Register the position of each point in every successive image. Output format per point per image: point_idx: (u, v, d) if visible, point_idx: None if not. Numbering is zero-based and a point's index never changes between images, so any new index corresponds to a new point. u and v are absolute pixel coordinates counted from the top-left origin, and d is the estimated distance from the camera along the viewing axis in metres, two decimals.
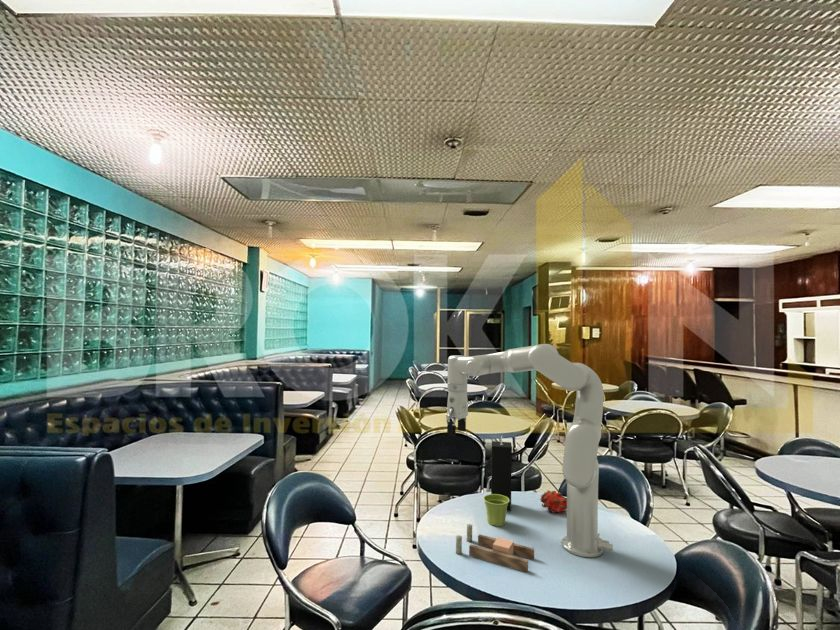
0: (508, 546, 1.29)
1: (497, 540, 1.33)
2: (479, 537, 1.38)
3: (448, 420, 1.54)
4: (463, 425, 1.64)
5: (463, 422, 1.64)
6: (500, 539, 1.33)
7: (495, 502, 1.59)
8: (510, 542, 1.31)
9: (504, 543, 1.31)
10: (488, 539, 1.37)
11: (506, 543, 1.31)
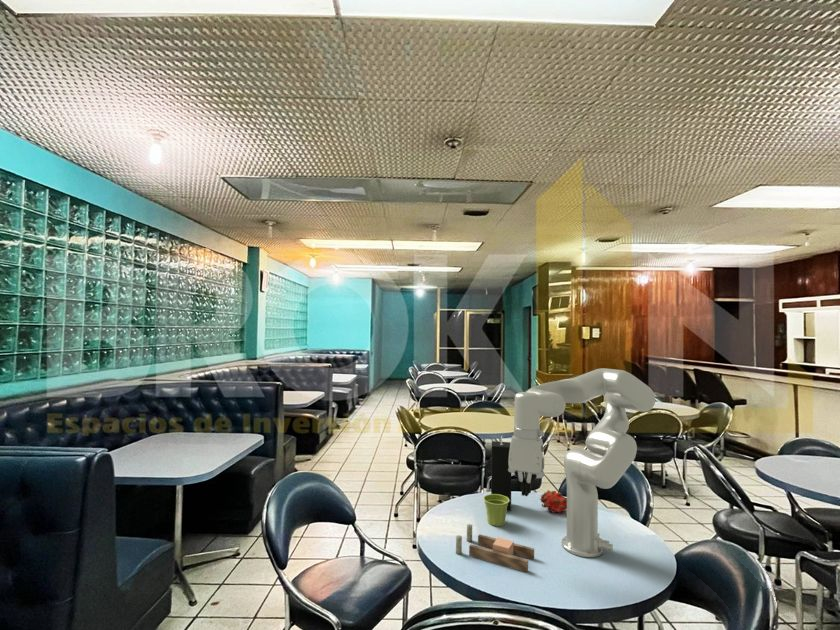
0: (508, 546, 1.29)
1: (497, 540, 1.33)
2: (479, 537, 1.38)
3: None
4: None
5: None
6: (500, 539, 1.33)
7: (495, 502, 1.59)
8: (510, 542, 1.31)
9: (504, 543, 1.31)
10: (488, 539, 1.37)
11: (506, 543, 1.31)
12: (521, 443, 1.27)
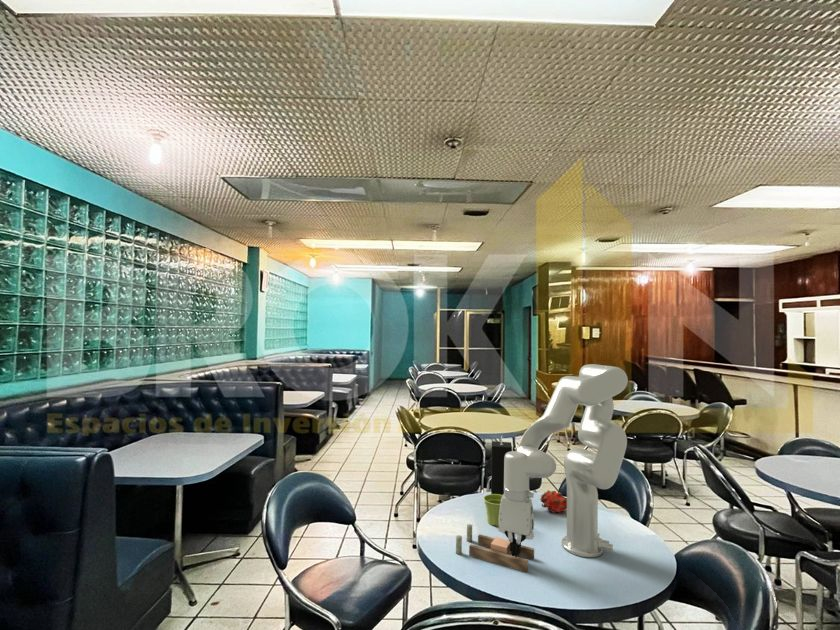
0: (506, 545, 1.29)
1: (495, 539, 1.33)
2: (479, 537, 1.38)
3: None
4: None
5: None
6: (498, 538, 1.34)
7: (495, 502, 1.59)
8: (508, 541, 1.32)
9: (502, 542, 1.31)
10: (488, 539, 1.37)
11: (504, 542, 1.31)
12: (511, 504, 1.28)
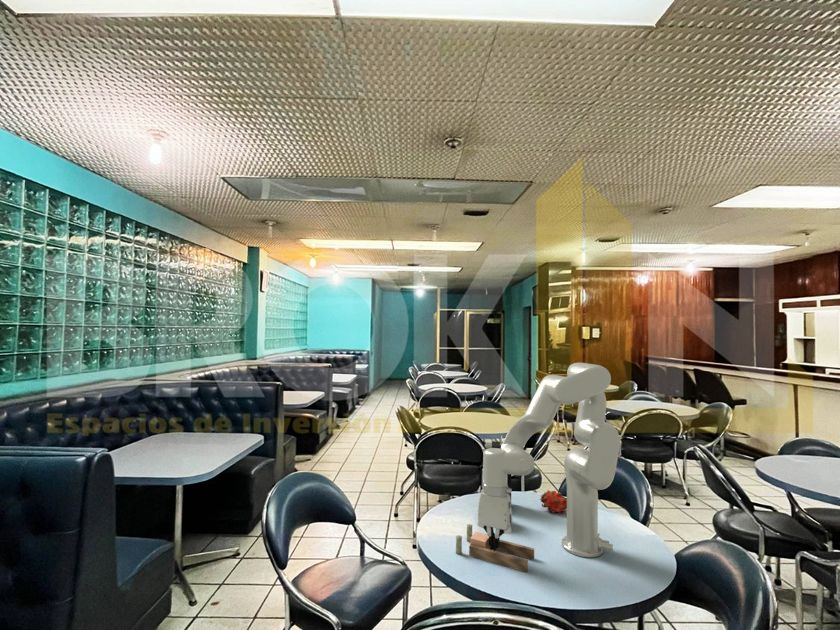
0: (485, 540, 1.33)
1: (475, 534, 1.36)
2: None
3: None
4: None
5: None
6: (478, 533, 1.37)
7: None
8: (487, 536, 1.35)
9: (481, 537, 1.35)
10: None
11: (483, 537, 1.34)
12: (489, 499, 1.31)
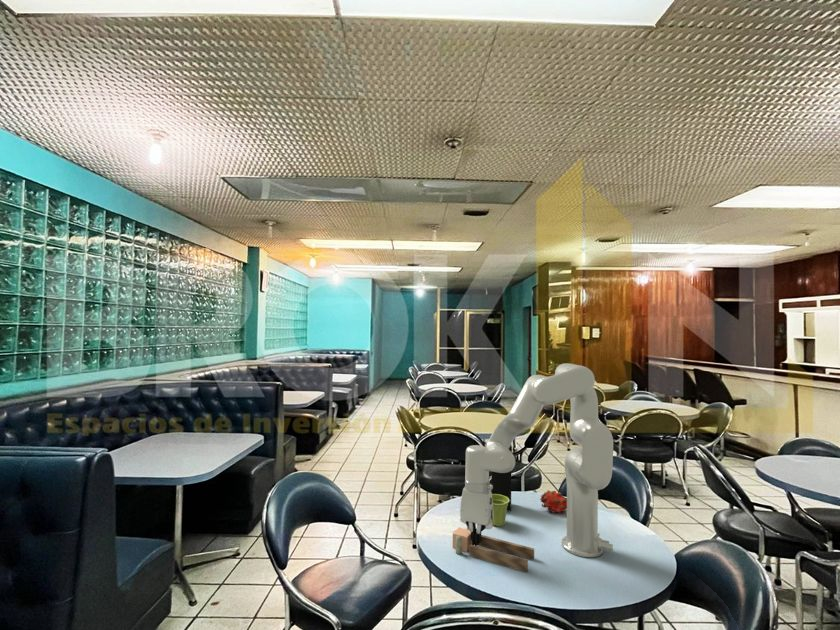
0: (467, 535, 1.35)
1: (457, 530, 1.39)
2: None
3: None
4: None
5: None
6: (460, 529, 1.40)
7: (495, 502, 1.59)
8: (469, 531, 1.38)
9: (464, 532, 1.37)
10: (488, 539, 1.37)
11: (465, 532, 1.37)
12: (471, 495, 1.34)
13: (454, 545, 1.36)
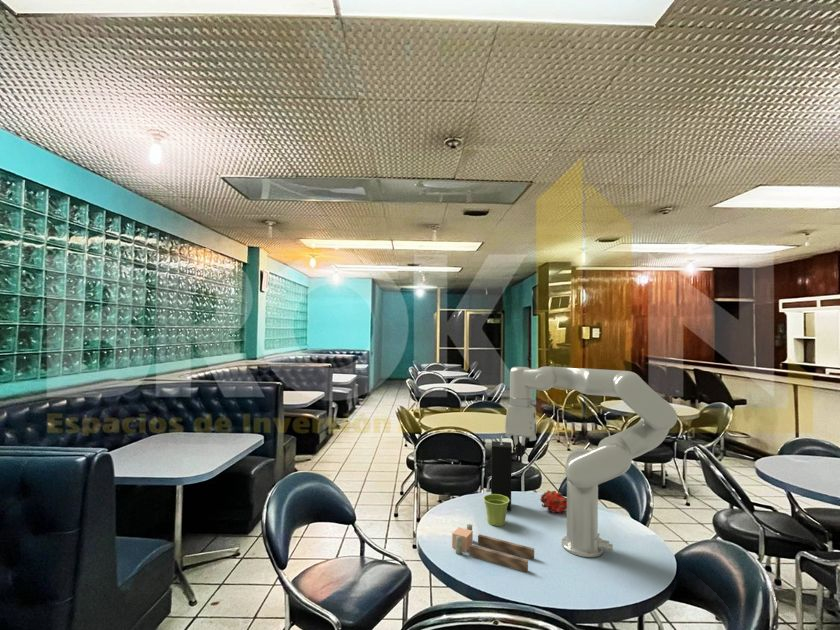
0: (466, 535, 1.35)
1: (457, 530, 1.39)
2: (479, 537, 1.38)
3: None
4: None
5: (520, 445, 1.48)
6: (460, 529, 1.40)
7: (495, 502, 1.59)
8: (469, 531, 1.38)
9: (463, 532, 1.37)
10: (488, 539, 1.37)
11: (465, 532, 1.37)
12: (516, 410, 1.45)
13: (454, 545, 1.36)
